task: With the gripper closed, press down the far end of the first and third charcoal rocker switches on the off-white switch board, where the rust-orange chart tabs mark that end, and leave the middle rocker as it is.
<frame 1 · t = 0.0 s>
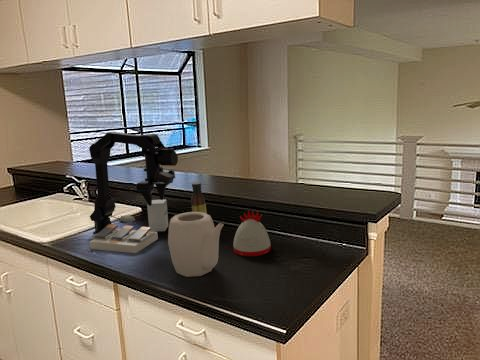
hand: (156, 202, 167), 15 cm above the countertop, tool pointing down, fingers open, 9 cm apart
soupspoon: (119, 219, 200), on the countertop
sauce bottle: (200, 226, 181), on the countertop
switch board: (124, 243, 163), on the countertop
rocker c: (140, 234, 159), point 5 cm above the countertop, hinge at 12.0°
supplement box: (159, 229, 180), on the countertop
rocker b: (123, 233, 162), point 5 cm above the countertop, hinge at 12.0°
watering can: (197, 272, 133), on the countertop
rocker a: (107, 231, 165), point 5 cm above the countertop, hinge at 12.0°
kitchen timer: (252, 249, 151), on the countertop
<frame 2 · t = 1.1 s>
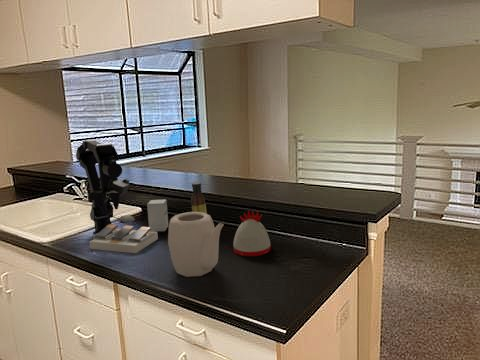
hand: (111, 211, 167), 12 cm above the countertop, tool pointing down, fingers open, 7 cm apart
nothing on the countertop moved.
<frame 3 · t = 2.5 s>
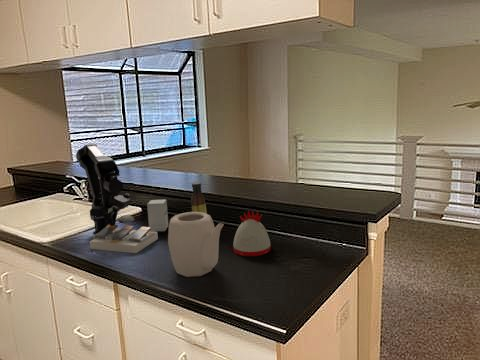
hand: (112, 226, 168), 6 cm above the countertop, tool pointing down, fingers closed, pressing on rocker a
rocker a: (107, 231, 165), point 5 cm above the countertop, hinge at 11.5°, touching gripper
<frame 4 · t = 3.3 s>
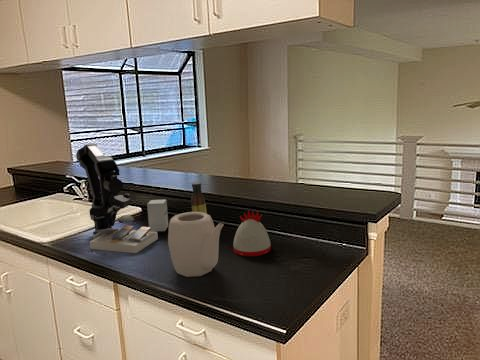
hand: (112, 226, 168), 6 cm above the countertop, tool pointing down, fingers closed
rocker a: (107, 231, 165), point 5 cm above the countertop, hinge at -14.2°
everything else where it was.
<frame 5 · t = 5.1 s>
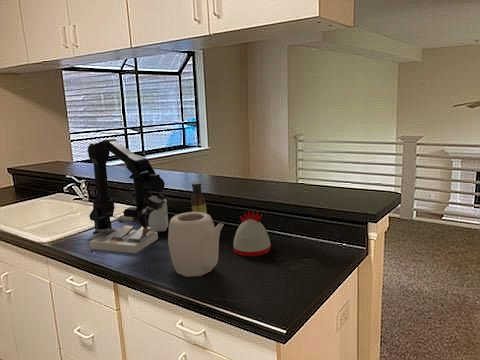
hand: (145, 227, 162), 6 cm above the countertop, tool pointing down, fingers closed, pressing on rocker c
rocker c: (140, 234, 159), point 5 cm above the countertop, hinge at 12.0°, touching gripper
rocker a: (107, 231, 165), point 5 cm above the countertop, hinge at -19.0°
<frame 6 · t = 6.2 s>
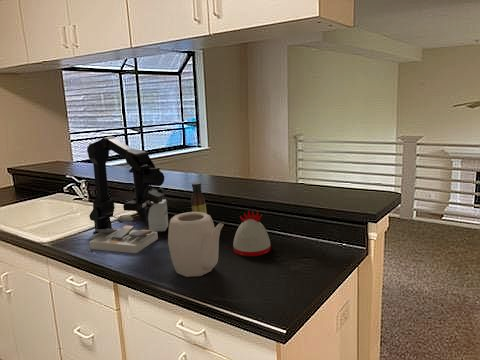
hand: (145, 222, 162), 9 cm above the countertop, tool pointing down, fingers closed
rocker c: (140, 234, 159), point 5 cm above the countertop, hinge at -6.6°
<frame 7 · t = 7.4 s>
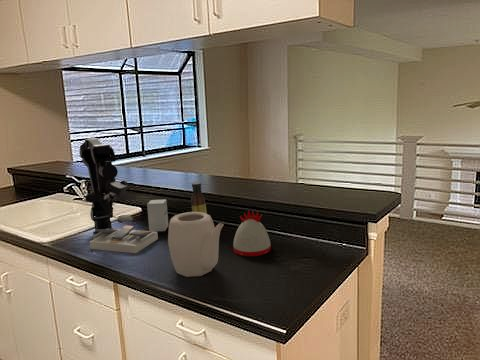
hand: (108, 213, 164), 12 cm above the countertop, tool pointing down, fingers closed
rocker c: (140, 234, 159), point 5 cm above the countertop, hinge at -13.0°
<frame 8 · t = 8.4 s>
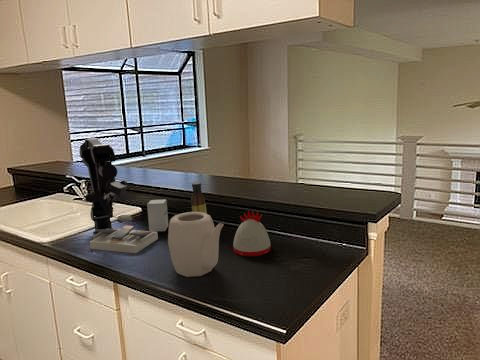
hand: (108, 213, 164), 12 cm above the countertop, tool pointing down, fingers closed
rocker c: (140, 234, 159), point 5 cm above the countertop, hinge at -14.2°
at the end: rocker a at -19° (first picture: +12°); rocker b at +12° (first picture: +12°); rocker c at -14° (first picture: +12°) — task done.
